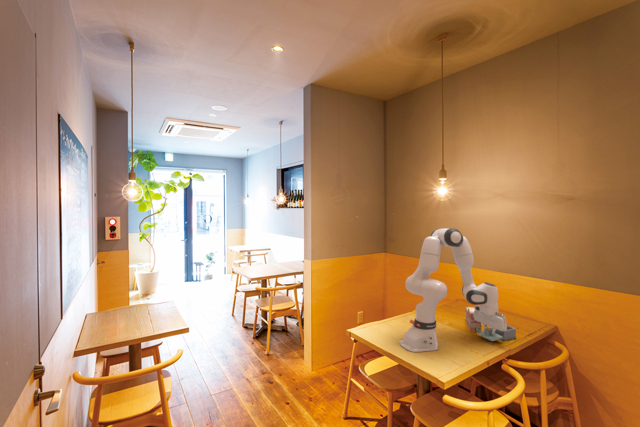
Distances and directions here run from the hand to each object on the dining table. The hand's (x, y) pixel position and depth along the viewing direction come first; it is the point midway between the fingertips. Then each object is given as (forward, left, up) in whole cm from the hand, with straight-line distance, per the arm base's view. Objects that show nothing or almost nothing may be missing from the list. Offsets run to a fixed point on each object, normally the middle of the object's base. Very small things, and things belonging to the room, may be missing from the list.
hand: (489, 332), depth 187 cm
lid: (0, 0, -3) cm, 3 cm away
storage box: (+12, 0, -5) cm, 13 cm away
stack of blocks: (+10, +21, -5) cm, 23 cm away
